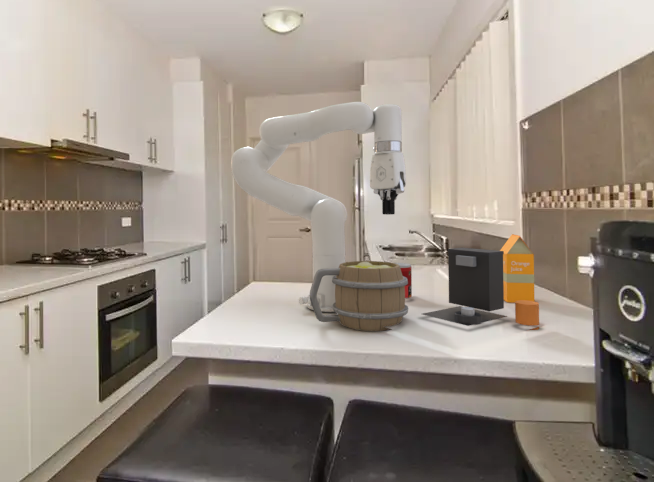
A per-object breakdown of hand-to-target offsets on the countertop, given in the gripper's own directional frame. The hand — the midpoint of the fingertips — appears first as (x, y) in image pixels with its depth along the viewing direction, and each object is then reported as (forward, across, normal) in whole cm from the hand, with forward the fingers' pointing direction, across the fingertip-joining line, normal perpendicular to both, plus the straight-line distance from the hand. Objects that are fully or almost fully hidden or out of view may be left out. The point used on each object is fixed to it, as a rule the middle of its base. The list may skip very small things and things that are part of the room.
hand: (388, 214), depth 127 cm
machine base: (+27, +18, +8) cm, 33 cm away
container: (+27, +31, +14) cm, 43 cm away
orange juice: (+27, +12, +42) cm, 51 cm away
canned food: (+27, -9, +13) cm, 32 cm away
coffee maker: (+24, +18, +12) cm, 32 cm away
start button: (+24, +23, +4) cm, 33 cm away
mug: (+27, +6, -17) cm, 33 cm away
